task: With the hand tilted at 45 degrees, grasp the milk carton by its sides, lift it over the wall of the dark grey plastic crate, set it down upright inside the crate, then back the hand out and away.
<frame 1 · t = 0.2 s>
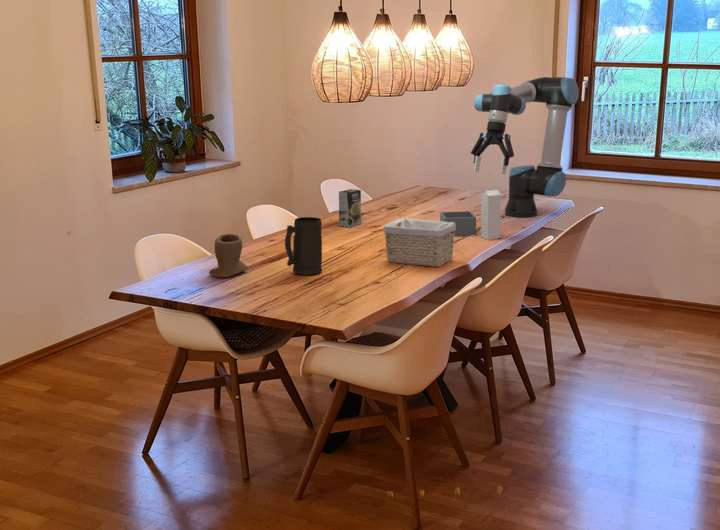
hand: (489, 172, 358), 27 cm above the table, tool tilted 15°, fingers open, 13 cm apart
storage basket: (419, 261, 328), on the table
beer stein: (304, 273, 313), on the table
coffee box: (350, 225, 392), on the table
stone cup: (231, 275, 314), on the table
crate: (457, 232, 373), on the table
milk: (490, 238, 362), on the table
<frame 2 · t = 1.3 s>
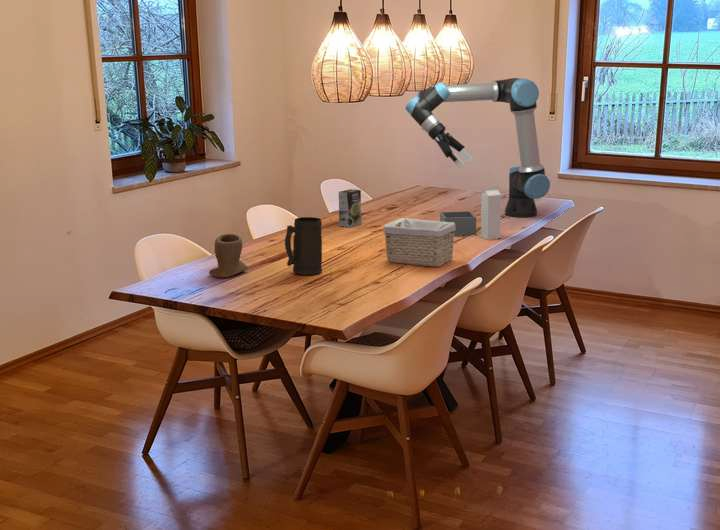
hand: (466, 163, 369), 30 cm above the table, tool tilted 45°, fingers open, 13 cm apart
nothing on the table moved.
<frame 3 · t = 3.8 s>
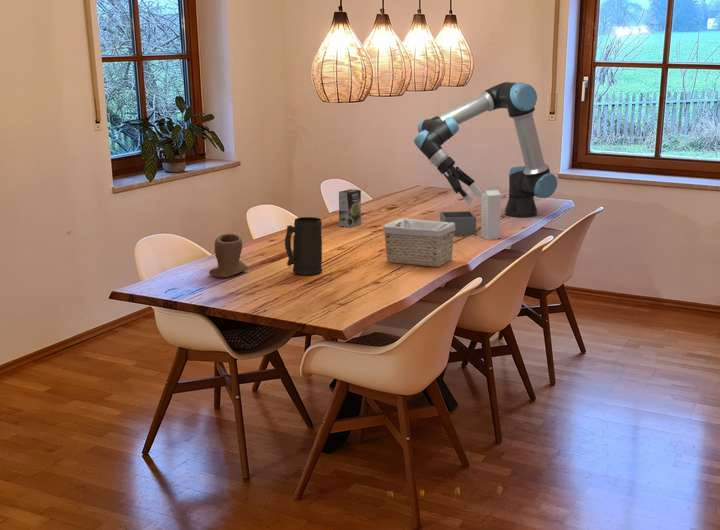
hand: (476, 199, 359), 17 cm above the table, tool tilted 45°, fingers open, 13 cm apart
nothing on the table moved.
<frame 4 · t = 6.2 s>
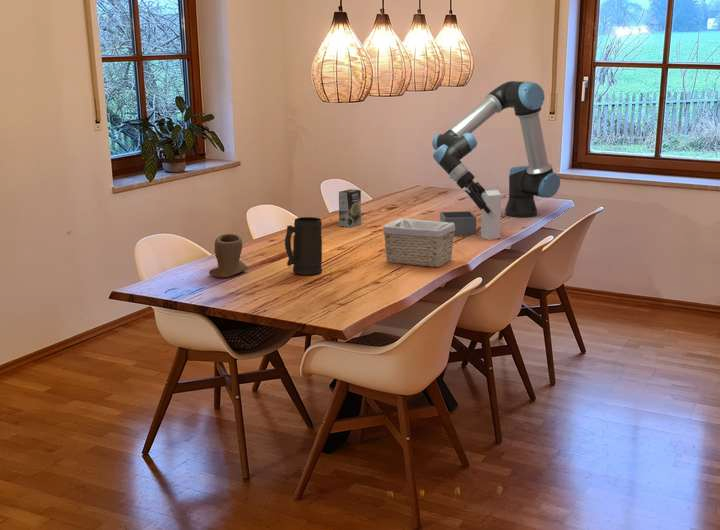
hand: (498, 216, 358), 10 cm above the table, tool tilted 45°, fingers closed on milk, 8 cm apart
milk: (490, 238, 362), on the table, touching gripper
everything else where it was.
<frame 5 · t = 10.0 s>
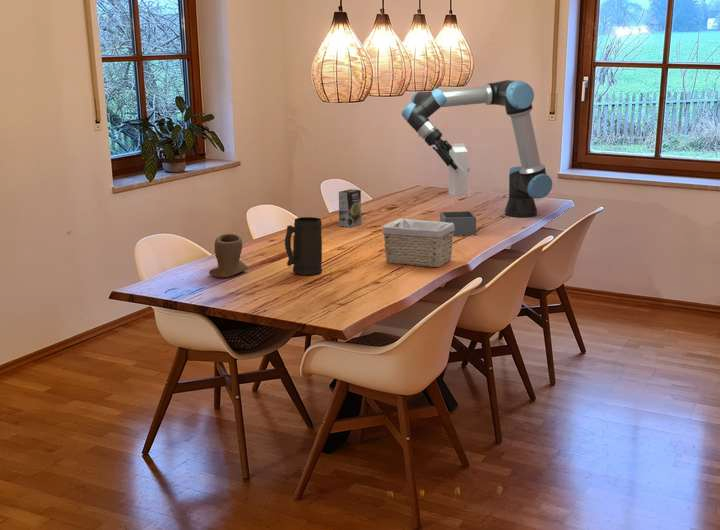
hand: (465, 172, 365), 26 cm above the table, tool tilted 45°, fingers closed on milk, 8 cm apart
milk: (457, 195, 369), point 17 cm above the table, touching gripper
everything else where it was.
when the fingers open (12 cm above the table, at t = 13.7 s): milk drops 1 cm, resting on crate.
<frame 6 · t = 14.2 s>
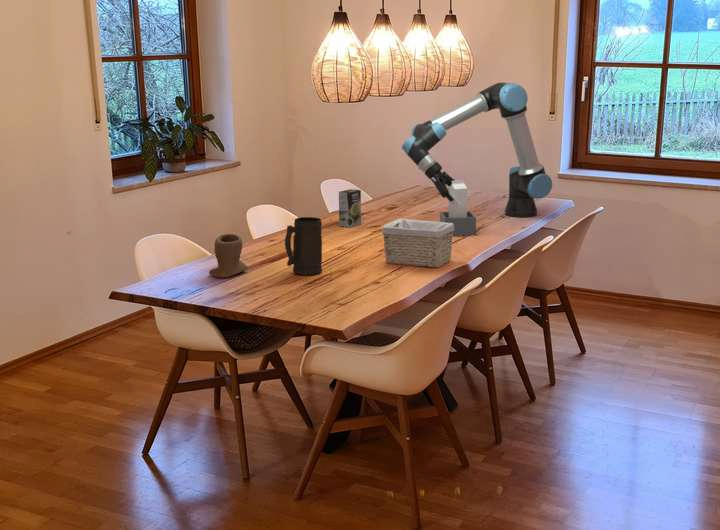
hand: (463, 203, 369), 13 cm above the table, tool tilted 45°, fingers open, 13 cm apart
milk: (457, 230, 373), point 1 cm above the table, touching crate
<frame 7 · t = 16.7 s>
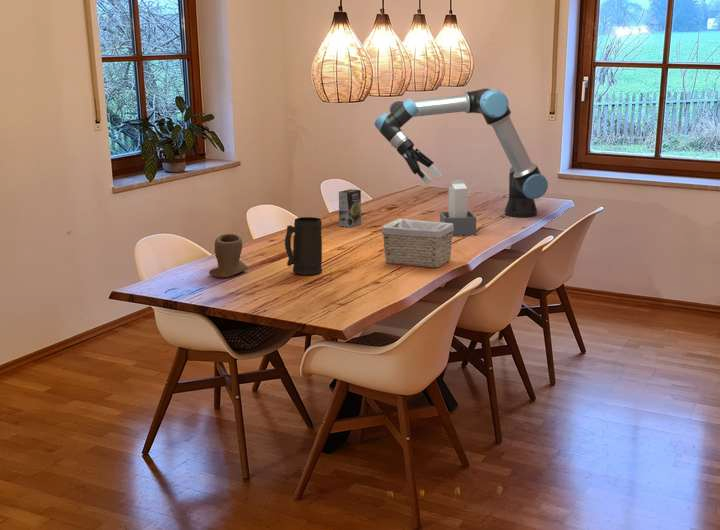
hand: (434, 179, 371), 23 cm above the table, tool tilted 45°, fingers open, 13 cm apart
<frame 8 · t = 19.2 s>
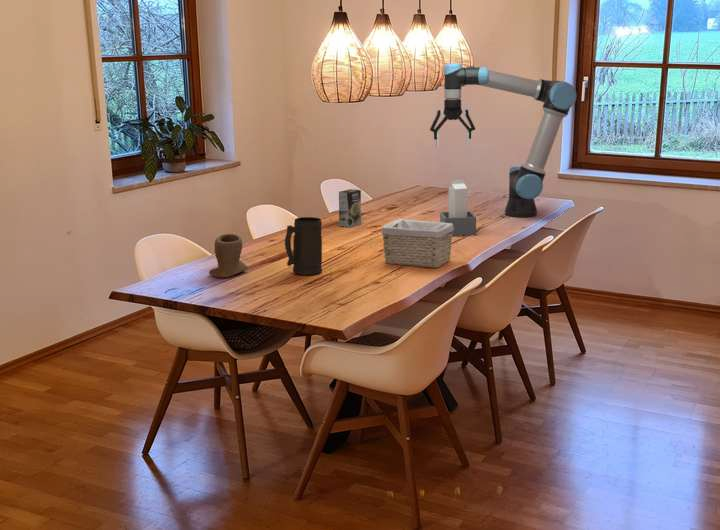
hand: (452, 146, 386), 35 cm above the table, tool pointing down, fingers open, 13 cm apart
at the end: milk inside the target area on the crate (0.1 cm from its centre), point 0.8 cm above the crate's base; milk tilted 0°; the gripper is holding nothing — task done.
